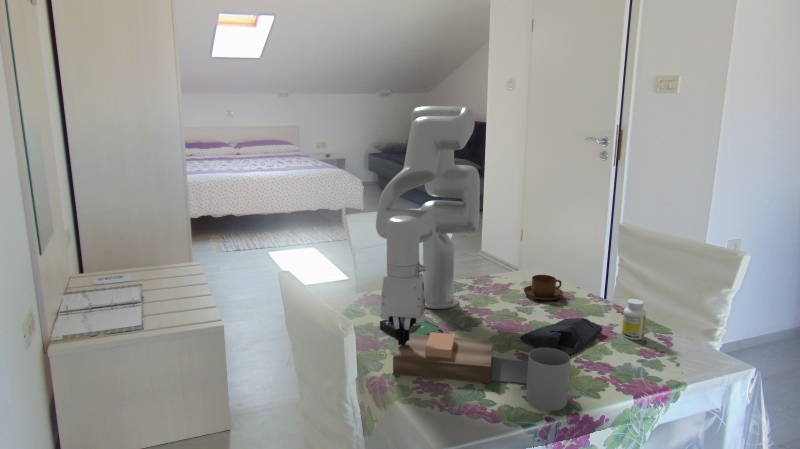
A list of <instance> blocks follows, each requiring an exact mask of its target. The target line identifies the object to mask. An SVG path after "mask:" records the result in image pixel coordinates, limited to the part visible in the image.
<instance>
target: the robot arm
mask: <svg viewBox="0 0 800 449" xmlns="http://www.w3.org/2000/svg"><path fill="white" fill-rule="evenodd" d="M410 118H411V122H410V123H411V125H410V129H409V136H408V139H407V140H408V141H407V146H406V151H405V152H406V153H405V158H404V163H403V168H402V170H401V171H400V172H398V173H397V174H396V175H395V176H394V177H393V178H392V179H391V180H389V182H388V183H387V184H386V186H385V187H384V189H383V190H382V193H381V195H380V198H379V202H378V207H377V211H376V212H377V213H376V217H375V219H376V220H375V229H376V233H377V234H378V236H379V237H381V238H382V239H385V240H386V272H385V273H384V275H383V279H382V284H381V295H380V296H381V297H380V316H379V317H380V319H382V320H389V321H390V322H391V323H392V324H393V325H394V327H395V329H396V337H395V340H396V341H398V342H397V344H398V346H399V345H401V344H402V345H405V344H406V342H407V341H409V336H410V327H411V326H412V325H413V324H415V323H419V322H424V321H426V318H427V317H426V315H425V310H426V309H431V310H444V309H445V310H447V309H451V308H453V307H456V306H457V305H458V304H459V298H458V297H457V296H456V295H454V273H455V272H454V271H455V269H454V268H455V266H454V265H455V245H454V243H453V241H452V239H451V238H450V236H449V235H448V234H453V235H473V234H475V233H477V231H478V229H479V224H480V209H481V208H480V203H481V202H480V198H481V196H480V195H481V191H480V190H481V185H480V184H481V181H480V174H479V170H478V169H477V167H475V166H473V165H468V164H455V151H458V150H459V151H460V150H462V149H463V148H465V147H466V145H467V143H468V141H469V140H470V138H471V136H473V132H474V129H475V124H476V120H475V114H474V111H473V110H472V109H471V107H467V106H464V105H463V106H459V105H458V106H455V105H453V106H452V105H447V106H446V105H425V106H418V107H416V108H414V109H413V110H412V112H411V114H410ZM423 185H424V188H425V191H426V193H427V195H429V196H432V197H438V198H451V199H452V198H454V199H461V200H462V201H454V200H439V199H437V200H435V199H434V200H429V201H426V202H425V203H422V205H421V207H420V209H408V208H407V209H406V208H393V207H394V204H395V202H396V201H397V199H399V197H400V196H402V195H404V194H405V193H406V192H409V191H411V190H413V189H415V188H418V187H420V186H423ZM421 243H422V261H421V262H422V263H421V262H420V244H421ZM401 317H404V318H406V319H405V324H404V326H403V325H402V323H401Z"/></svg>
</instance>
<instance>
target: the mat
mask: <svg viewBox="0 0 800 449" xmlns="http://www.w3.org/2000/svg"><path fill="white" fill-rule="evenodd" d="M527 373H528V360H515V359H504V358H495V357H494V358H493V357H492V365H491V376H490V382H498V383H507V384H518V385H527Z"/></svg>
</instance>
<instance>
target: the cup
mask: <svg viewBox="0 0 800 449" xmlns="http://www.w3.org/2000/svg"><path fill="white" fill-rule="evenodd" d="M570 357H571V356H570ZM570 357H569V355H567V354H566V353H565V352H563V351H560V350H558V349H553V348H537V349H536V348H533V349H531V350H529V352H528V359H527V361H528V373H527V384H526V398H525V399H526V402H527V404H529V405H530V406H531V407H534V408H536V409H537V410H541V411H546V412H550V411H551V412H552V411H553V412H556V411H560V410H563V409H564V408H565V407H566V406H567V405H568V394H569V382H570V381H569V380H570V379H569V378H570V368H571V358H570Z"/></svg>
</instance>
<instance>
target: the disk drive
mask: <svg viewBox="0 0 800 449" xmlns="http://www.w3.org/2000/svg"><path fill="white" fill-rule="evenodd" d="M405 319H406V318H404V317H401V323H402V325H403V326H404V324H405ZM379 330H381V331H383V332H385V333H388V334H390V335H392V336H393V337H395V338H396V329H395V327H394V325H393V324H392V323H391V322H390V321H389V320H385V319H382V320H380V321H379ZM431 332H435V333H444V331H443V330H442V328H441V327H439V326H438V325H435V324H433V323H431V322H429V321H427V320H425V321H424V322H419V323H415V324H413V325H412V326H411V327H410V334H417V335H430V333H431Z"/></svg>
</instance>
